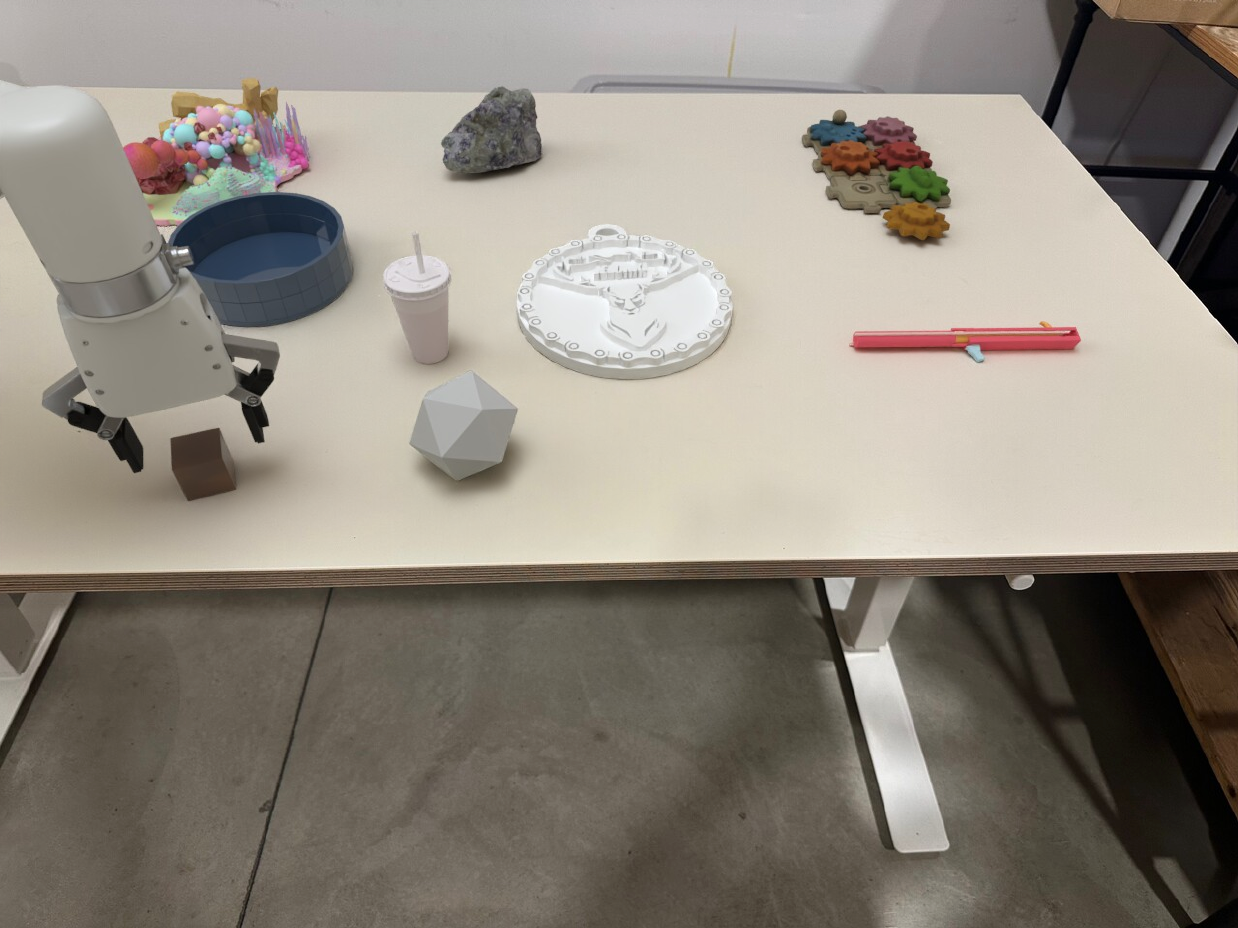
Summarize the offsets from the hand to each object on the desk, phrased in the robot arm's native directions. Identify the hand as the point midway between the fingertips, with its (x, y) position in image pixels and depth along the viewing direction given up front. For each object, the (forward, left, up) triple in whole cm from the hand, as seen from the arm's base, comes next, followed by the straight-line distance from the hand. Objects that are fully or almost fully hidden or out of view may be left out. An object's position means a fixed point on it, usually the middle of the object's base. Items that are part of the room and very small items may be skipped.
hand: (200, 446), depth 73 cm
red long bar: (+75, -7, -4) cm, 75 cm away
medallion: (+44, +13, -4) cm, 46 cm away
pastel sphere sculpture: (+4, +56, -4) cm, 57 cm away
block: (0, 0, -4) cm, 4 cm away
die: (+22, -5, -4) cm, 23 cm away
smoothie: (+22, +11, -4) cm, 25 cm away
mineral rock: (+39, +48, -4) cm, 62 cm away
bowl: (+8, +30, -4) cm, 31 cm away
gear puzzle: (+86, +26, -4) cm, 90 cm away
